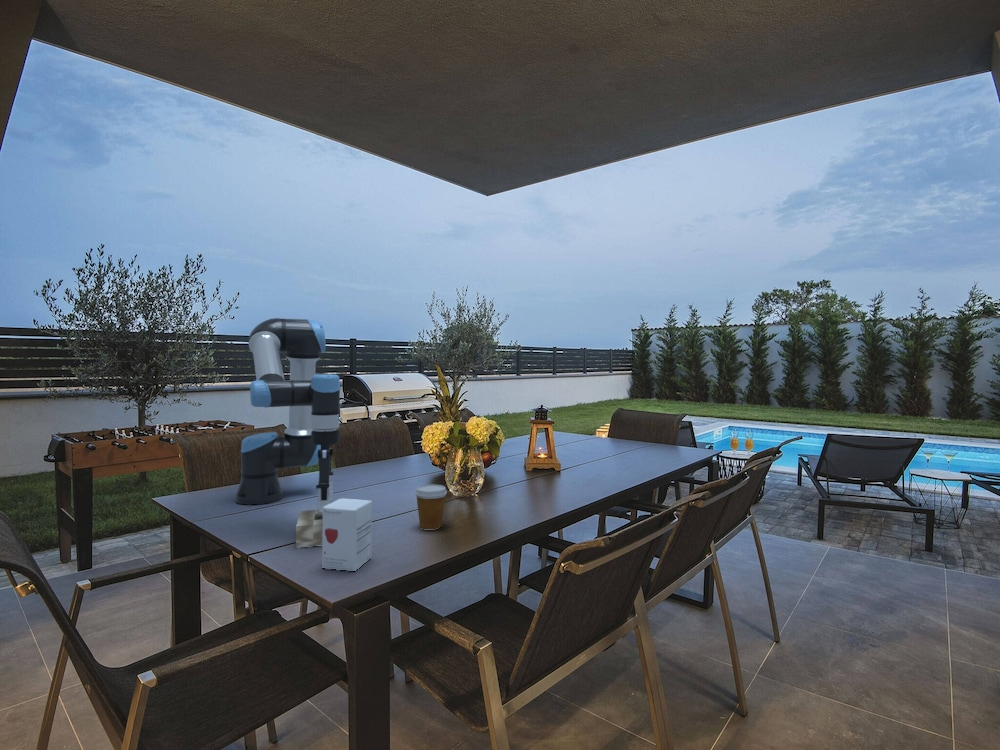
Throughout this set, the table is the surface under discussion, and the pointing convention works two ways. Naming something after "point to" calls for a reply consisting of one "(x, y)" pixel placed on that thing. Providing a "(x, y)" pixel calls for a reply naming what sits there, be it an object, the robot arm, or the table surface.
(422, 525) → the disposable coffee cup
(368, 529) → the supplement box
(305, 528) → the bore block
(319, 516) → the peg
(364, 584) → the table surface
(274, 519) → the table surface
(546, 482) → the table surface
